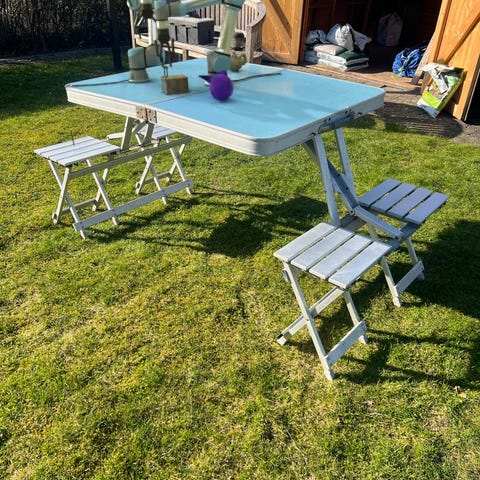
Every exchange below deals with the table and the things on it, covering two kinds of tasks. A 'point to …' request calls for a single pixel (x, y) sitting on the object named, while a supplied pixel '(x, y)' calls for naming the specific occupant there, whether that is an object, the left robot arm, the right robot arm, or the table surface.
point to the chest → (175, 86)
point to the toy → (219, 85)
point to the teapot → (237, 61)
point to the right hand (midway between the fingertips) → (166, 67)
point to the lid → (173, 77)
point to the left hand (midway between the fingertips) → (150, 38)
